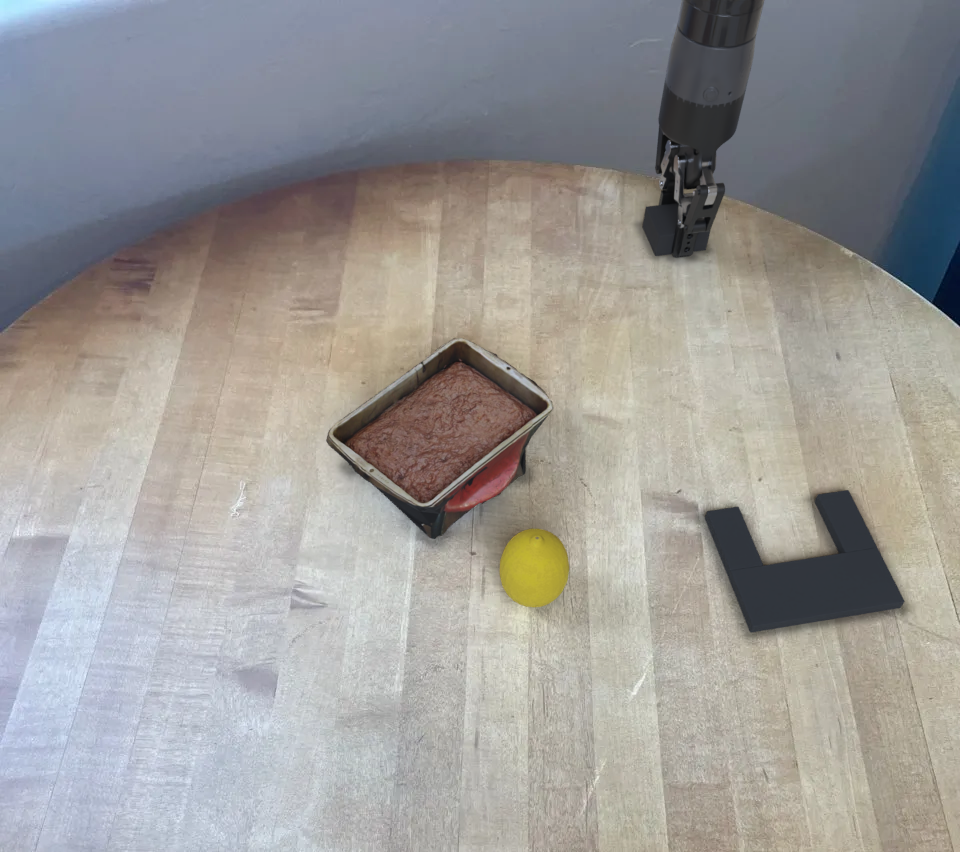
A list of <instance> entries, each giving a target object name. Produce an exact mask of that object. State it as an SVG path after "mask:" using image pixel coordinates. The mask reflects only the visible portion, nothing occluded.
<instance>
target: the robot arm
mask: <svg viewBox="0 0 960 852" xmlns="http://www.w3.org/2000/svg"><path fill="white" fill-rule="evenodd" d="M764 4H765V0H681V2H680V6H679V8H680V9H679V13H678V19H677V23H676V28H675V32H674V35H673V38H672V41H671V45H670V48H669V53H668V60H667V65H666V72H665V77H664V83H663V88H662V95H661V96H662V97H661V101H660V106H659V113H658V117H657V119H658V121H657V122H658V132H657V142H656V143H657V145H656V154H655V155H656V157H655V165H654V170H655V173H656V175H660V177H659V179H658V180H659V181H658V186H659V190H660V196H659V201H658V205H666V204H675V203H678V220H677V225H676V230H675V236H674V241H673V245H672V250H671V252H672V254H671V255H672V256H673V258H675V259H680V258H687V257H690V256H692V255H693V254H694V252H693V251H694V247H695V243H696V238H697V234H698V233H699V232H707V231H710V232H711V229H712V227H713V224H714V221H715V219H716V218H717V214H718V211H719V209H720V207H721V205H722V201H723V198H724V196H725V193H726V185H725V183H724V182H717V183H716V181H715V177H714V173H715V171H716V168H717V160H718V157H717V151H718V149H720V147H722V145H724V144H725V143H727V142H728V141H729V140H730V139H731V138H732V137H733V136H734V135H735V133H736V131H737V129H738V124H739V121H740V116H741V112H742V108H743V103H744V100H745V95H746V91H747V87H748V83H749V79H750V74H751V71H752V66H753V61H754V55H755V49H756V48H755V47H756V37H757V33H758V29H759V25H760V21H761V17H762V12H763V8H764ZM684 190H686V191H687V190H693V191H692V192H688V193H684V192H685V191H684ZM689 204H691V205H690V208H689V211H688V214H687V215H686V213H687V206H688V205H689Z"/></svg>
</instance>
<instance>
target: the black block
mask: <svg viewBox="0 0 960 852" xmlns="http://www.w3.org/2000/svg"><path fill="white" fill-rule="evenodd" d="M690 205H691V204H689V205H688V206H687V213H686V215H687V214H688V211H689V208H690ZM642 220H643V221H642V226H641V227H642V230H643V232H644V234H645V236H646V239H647V241H648V243H649V246H650V247H651V250H652V253H653V255H654V256H655V257H661V256H668V255H673V254H672V252H671V250H672V245H673V241H674V236H675V230H676V225H677V220H678V203H675V204H666V205H659V204H658V205H657V204H656V205H649V206H645V209H644V215H643V219H642ZM710 234H711V230H710V231H707V232H699V233H698V234H697V238H696V243H695V247H694V251H693V253H695V252H702V251H707V246H708V243H709V238H710Z"/></svg>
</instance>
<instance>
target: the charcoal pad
mask: <svg viewBox="0 0 960 852" xmlns="http://www.w3.org/2000/svg"><path fill="white" fill-rule="evenodd" d="M814 504H815V506H816V508H817V510H818V512H819V514H820V517H821V519H822V521H823V523H824V525H825V528H826V529H827V531H828V533H829V535H830V537H831V539H832V542H833V544H834V546H835V548H836V550H837V552H838V553H833V554H827V555H821V556H815V557H808V558H803V559H795V560H789V561H784V562H777V563H771V564H764V563H763V561H762V559H761V556H760V554H759V551H758V549H757V547H756V543H755V541H754V540H753V538H752V537H753V536H752V535H751V533H750V530H749V528H748V525H747V523H746V520H745V518H744V516H743V514H742V512H741V511H742V510H741V508H740V507H739V506H732V507H731V506H730V507H725V508H718V509H711V510H707V511H706V513H705V515H704V521H705V523H706V525H707V528H708V531H709V533H710V535H711V538H712V540H713V543H714V546H715V548H716V551H717V553H718V555H719V558H720V561H721V564H722V566H723V568H724V570H725V573H726V576H727V578H728V580H729V583H730V586H731V589H732V590H733V594H734V595H735V598H736V601H737V603H738V605H739V608H740V611H741V613H742V616H743V619H744V622H745V623H746V626H747V628H748V631H749V633H751V634H752V633H757V632H762V631H771V630H775V629H781V628H787V627H788V628H789V627H794V626H799V625H800V626H801V625H807V624H812V623H818V622H823V621H830V620H836V619H843V618H847V617H848V618H849V617H854V616H861V615H866V614H872V613H879V612H884V611H890V610H896V609H897V610H899V609H901V608H902V607H903V605H904V604H905V600H904V598H903V595H902V593H901V592H900V590H899V587H898V585H897V584H896V581H895V580H894V577H893V575H892V573H891V572H890V569H889V568H888V567H889V566H888V565H887V563H886V562H885V559H884V558H883V556H882V554H881V551H880V549H879V547H878V545H877V544H876V542H875V540H874V538H873V536H872V533H871V532H870V530H869V528H868V525H867V524H866V522H865V520H864V518H863V515H862V514H861V512H860V510H859V508H858V506H857V504H856V502H855V500H854V498H853V496H852V494H851V492H850V490H849V489H846V490H845V489H844V490H839V491H831V492H825V493H819V494H816V497H815V499H814Z"/></svg>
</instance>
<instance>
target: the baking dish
mask: <svg viewBox="0 0 960 852" xmlns="http://www.w3.org/2000/svg"><path fill="white" fill-rule="evenodd" d="M553 410H554V405H553V401H552V400H551V398H550V397H549V395H548V394H547V392H546V391H545V390H544V389H543V388H542V387H540V386H539V385H538V383H537V382H536V381H535V380H533V379H531V378H530V377H528V376H526V375H525V374H524V373H522V372H520V371H518V369H517V368H515V367H514V366H513V365H512V364H510V363H509V362H508V361H506V360H504V359H503V358H501V357H499V355H498V354H497V353H494V352H493V351H489V350H488V349H486V348H484V347H482V346H481V345H479V344H477V343H475V342H472V341H471V340H470V339H467V338H463V337H453V338H452V339H450V340H448V341H446V342H445V343H443V344H442V345H441V346H439V347H437V348H436V349H435V350H434V351H433V352H432V353H431V354H429V355H428V356H426V358H425V359H423V360H422V361H420V362H418V364H416V365H415V366H413V367H412V368H410V369H409V370H408V371H406V372H405V373H404V374H403V375H402V376H400V377H399V378H397V379H396V380H394V381H392V382H391V383H390V384H389V385H387V386H386V387H385V388H383V389H381V390H380V391H379V392H377V393H376V394H374V396H372V397H370V398H369V399H368V400H366V401H365V402H363V403H362V404H361V405H359V406H358V407H357V408H356V409H354V410H352V411H351V412H349V413H348V414H347V415H345V416H344V417H342V418H341V419H339V420H338V421H337V422H336V423H334V424H333V425H332V426H331V427H330V428H329V430H328V432H327V435H326V439H325V441H326V443H327V445H328V446H329V447H330V448H331V449H332V450H333V451H334V452H335V453H336V454H338V455H339V456H340V457H341V458H342V459H343V460H345V461H346V463H348V466H351V468H352V470H353V471H354V472H355V473H356V474H358V475H359V476H360V477H361V478H362V479H363V480H364V481H367V482H368V483H370V484H371V485H373V487H375V489H377V490H378V491H379V493H381V494H382V495H384V496H385V498H386V499H388V500H389V502H391V503H392V504H393V505H394V506H395V507H396V508H397V509H398V510H399V511H400V512H401V513H403V515H405V516H406V517H407V518H408V519H409V520H410V521H411V522H412V523H413V524H414V525H415V526H416V527H417V528H419V530H420V531H422V532H423V533H424V534H425V535H426V536H427V537H428V538H429V539H433V540H436V538H438V537H441V536H443V535H444V534H445V533H446V532H447V531H448V529H449V528H451V526H452V525H453V524H455V523H456V522H457V521H458V520H460V519H461V518H462V517H463V516H465V515H466V514H467V513H469V512H470V511H471V510H472V509H473V508H475V507H476V506H477V505H479V504H480V505H481V504H482V505H483V504H485V503H486V502H487V501H489V500H492V499H493V498H496V497H498V496H500V495H501V494H502V493H503V492H504V490H505V489H507V488H508V487H509V486H510V485H511V484H513V482H514V481H516V480H517V479H518V478H519V477H521V476H524V475H525V474H526V473H527V472H526V469H527V468H526V467H527V465H526V459H527V458H526V457H527V456H526V454H527V453H526V452H527V451H526V449H527V447H528V445H529V443H530V441H531V438H532V437H533V436H534V435H535V433H536V432H537V431H538V430H539V428H540V427H541V426H542V424H543V423H544V421H546V419H547V417H548V416H549V415H550V414H551V413H552V411H553Z"/></svg>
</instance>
